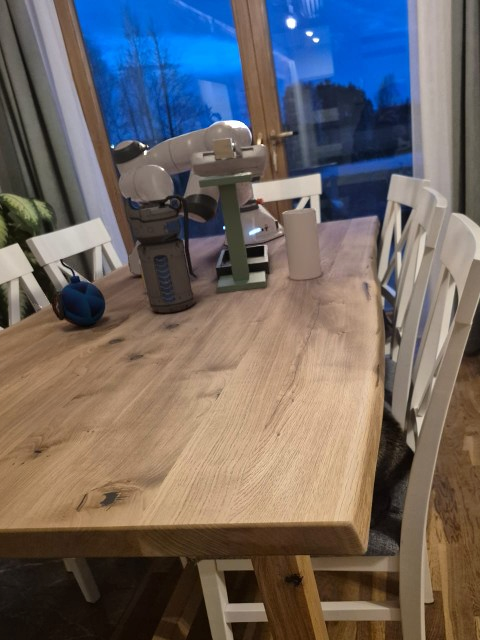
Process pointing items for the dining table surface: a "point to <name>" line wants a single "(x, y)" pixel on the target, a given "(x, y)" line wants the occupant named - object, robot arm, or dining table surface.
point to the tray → (255, 257)
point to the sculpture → (134, 260)
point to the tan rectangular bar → (223, 148)
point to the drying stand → (234, 234)
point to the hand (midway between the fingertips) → (226, 145)
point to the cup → (302, 243)
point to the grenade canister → (163, 252)
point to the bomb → (78, 302)
